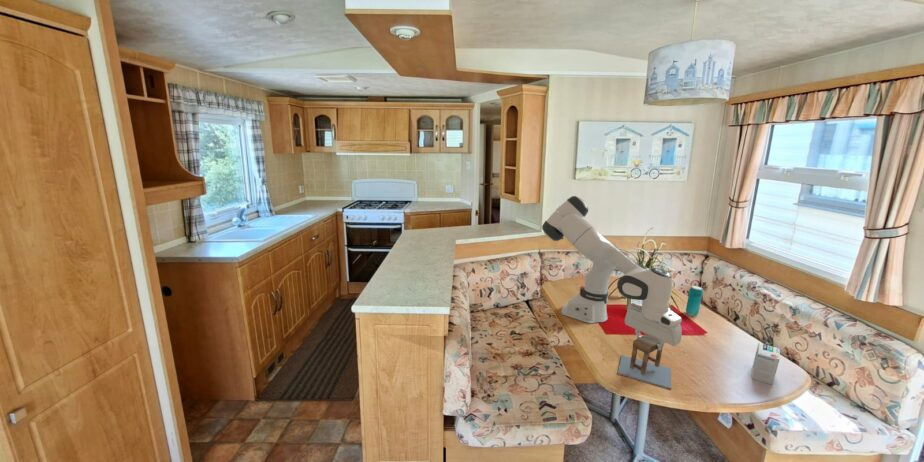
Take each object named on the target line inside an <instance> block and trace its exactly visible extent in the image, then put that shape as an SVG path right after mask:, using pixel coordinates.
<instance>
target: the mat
mask: <svg viewBox="0 0 924 462" xmlns="http://www.w3.org/2000/svg"><path fill="white" fill-rule="evenodd" d="M642 362H643V359H641V360H640V359H638V358H636V361H635V364H637V365H639V366H641V367H642ZM630 363H631V357H629V356H627V355H621V357H620V361H619V367H618V371H617V375H620V376H624V377H626V378H627V377H628V378H630V379H633V380H637V381H641V382H644V383H648V384H651V385H653V386H656V387H657V386H658V387H660V388H661V387H662V388H665V389H668V390H672V368H671V367H667V366H663V365H661V364H660V365H659V367H656V366H655V363H654V362H653V363H652V362H649V361H648V362H647V367H646V373H645V375H642V374H641V370H639V369H637V368H634V369H631V368H630Z"/></svg>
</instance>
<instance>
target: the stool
mask: <svg viewBox="0 0 924 462" xmlns="http://www.w3.org/2000/svg"><path fill="white" fill-rule="evenodd" d="M641 336H642V337H640V338H638V339H637V338H636V339H634V340H633V341H632V342H633V343H632V351H631V363H630V368H631V369H634V368H637V369H639V370H641V374H642V375H645V373H646V367H647V362H649V360H650V361H651V362H653V363H654V364H655V366H656V367H659V365H660V366H661V358H662V352H663V347H664V346H665V345H664V344H665V343H664V344H663V345H662V348H661V350H657V349H655V347H656V345H657V344H660V342H659V341H660V340H659V339H657V338H654V337H652V336H650V335H648V334H646V333H645V335H641ZM638 350H639V351H641V352H642V353H643V355H642V356H643V357H642V361H643V362H642V367H641V366H639V365H637V364H635V361H636V359H637V354H638ZM655 351H656V355H655V357H652V356H651V355H650V354H651V353H653V352H655Z"/></svg>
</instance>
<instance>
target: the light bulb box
mask: <svg viewBox="0 0 924 462" xmlns="http://www.w3.org/2000/svg"><path fill="white" fill-rule="evenodd" d="M780 353H781V349H780V348H779V347H776V346H772V345H768V344H765V343H762V342H758V344H757V347H756V351H755V356H754V359H753V363H752V369H751V379H755V380H757V381H761V382H763V383H766V384H769V385H772V386H773V384H774V381H775V377H776V374H777V370H778V366H779V363H780V360H781V357H780V356H781V354H780Z"/></svg>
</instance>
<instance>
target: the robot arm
mask: <svg viewBox="0 0 924 462" xmlns="http://www.w3.org/2000/svg"><path fill="white" fill-rule="evenodd" d="M588 213H589V207H588V205H587V203H586V201H585V200H584V199H583V198H581V197H578V196H576V195H573V196H570V197H569V198H567V199H566V201H564V202H563V203H562V204H561V205H559V206H558V207H557V208H556V209H555V211H554V212H552V214H551V215H550V216H549V217H548V219H547V220H545V221H544V222H543V224H542V226H541V228H542V231H543V234H544V235H545V237H547V238H548V239H549V240H552V241H554V242H558V241H561V240H564V237H565V239H566V240H567V241H568V242H569V243H570V244H571V245H572V246H573V247H574V249H575V250H577V251H578V252H579V253H580V254H582V256H584V258H585V259H587V260H589V261H591V262H592V267H591V269H590V270H589V271H587V272H586V274H585V276H584V277H585V278H584V279H585V280H584V285H583V284H582V285H581V286H580V287H579V293H578V294H575V295H574V296H571V297H570V298H569V300H568V301H567V303H566V304H564V305H563V306H562V308H561V311H560V312H561V314H562V315H563V316H566V317H568V318H571V319H575V320H578V321H580V322H584V323H587V324H594V323H595V324H596V323H604V322H606V321H607V320H608V312H607V303H608V300H609V299H608V298H609V291H608V290H609V284H610V278H611V275H612V274H613V272H614V270H616V269H617V270H619V271H620V272H622V274H623V275H622V276H620V278H619V279H618V280H617V282H616V284H617V285H616V287H617V290H618V291H619V292H618V293H619V294H620V295H621V296H622V295H623V296H624V297H626V298H625V299H630V300H635V301H637V300H638V301H641V302H642V303H641V305H638V304H636V303H635V302H631V303H629V304H628V305H627V307H626V308H627V309H626V310H627V312H626V314H625V317H624V324H625V326H628V327H630V328H632V329H635V330H634V333H635V334H636V339H638V338H640V337H642V336H643V335H642V333H643V334H645V335H646V334H648V335H650V336H652V337H654V338H657V339H659V340H660V341H659V342H660V344H657V345H656V347H655V349H657V350H661V348H662V345H663V344H668V345H671V346H673V347H675V346H677V345H679V344H681V342H682V337H683V335H682V333H683V331H682V330H683V329H682V325H681V323H682V320H683V319H682V317H681V316H679V315H678V314H677V313H676V312H674V311H673V310H672V309H670V303H669V302H670V299H671V297H672V291H673V278H672V275H671V274H670V273H669V272H668V271H666V270H665V269H662V268H659V267H651V268H648V267H647V266H644V265H642V264H639V263H638V262H636V261H634V260H633V259H632V258H630V257H629V255H628V254H626V253H624V251H622V250H621V249H619V247H618V246H616V245H615V244H614V243H612V242H611V241H610V240H608V239H607V238H606V237H605V236H603V235H602V234H601V232H600V231H598V230H597V229H596V228H595V227H594V226H593V225H592V224H590V222H588V221H587V220H585V217H586V216H587V214H588ZM624 297H623V298H624ZM641 332H642V333H641ZM662 349H663V348H662ZM657 350H656V351H657Z"/></svg>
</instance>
